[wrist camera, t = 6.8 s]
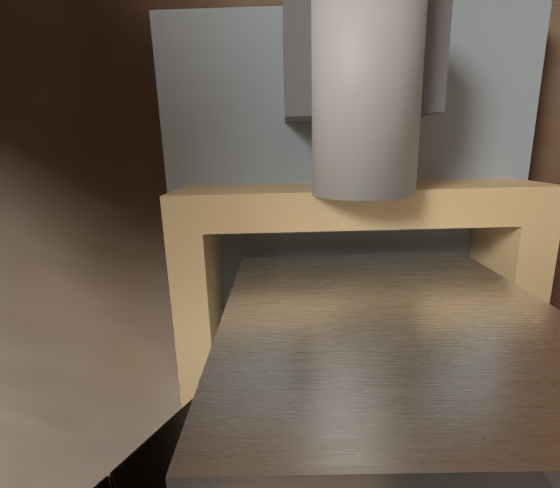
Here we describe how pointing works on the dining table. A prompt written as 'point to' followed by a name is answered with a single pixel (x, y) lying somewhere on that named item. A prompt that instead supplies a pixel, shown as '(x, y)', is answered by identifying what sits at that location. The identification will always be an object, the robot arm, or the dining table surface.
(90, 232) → the dining table surface
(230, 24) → the shaft bench
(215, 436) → the block
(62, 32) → the dining table surface
